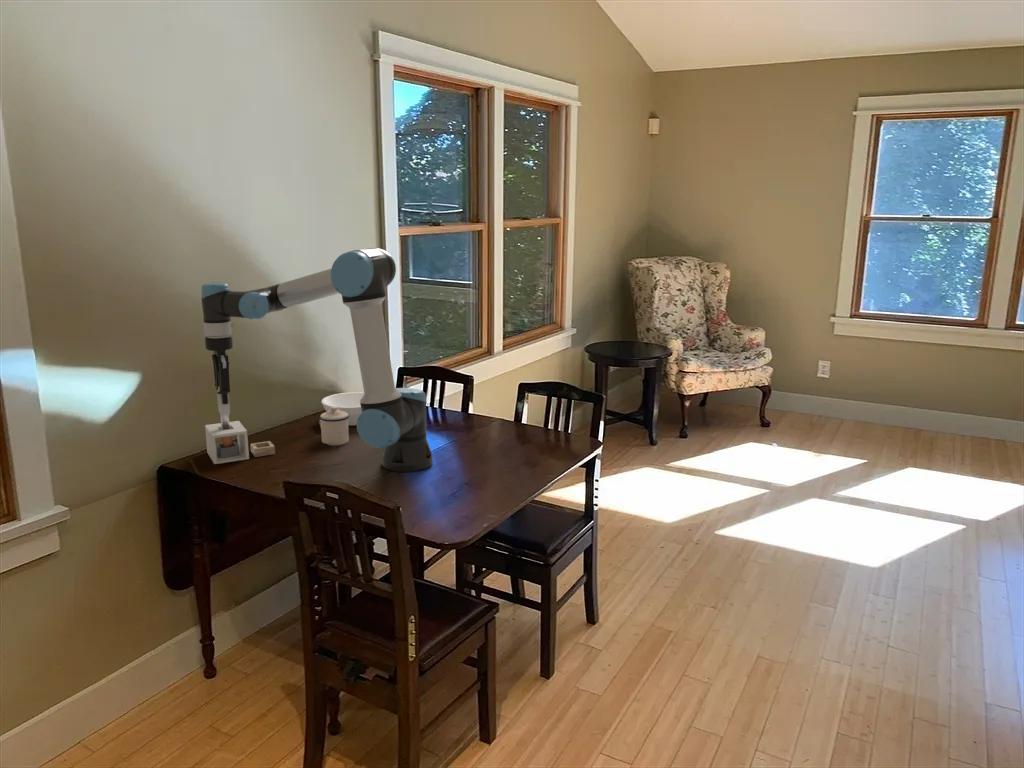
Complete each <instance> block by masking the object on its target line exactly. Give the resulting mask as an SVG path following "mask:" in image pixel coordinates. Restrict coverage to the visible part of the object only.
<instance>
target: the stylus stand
mask: <svg viewBox="0 0 1024 768" xmlns="http://www.w3.org/2000/svg"><path fill="white" fill-rule="evenodd" d="M250 452H251V454H252V455H253V456H254V457H255V458H257V457H263V456H271V455H275V454H276V447H275V445H274V444H273V442H271V440H267V441H262V442H261V441H259V442H254V443H250Z"/></svg>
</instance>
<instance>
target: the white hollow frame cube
mask: <svg viewBox="0 0 1024 768" xmlns="http://www.w3.org/2000/svg"><path fill="white" fill-rule="evenodd" d="M229 424H230V429H229V430H221V422H218V423H213V424H211V423H210V424H205V425H204V430H205V438H206V439H205V440H206V441H205V442H206V451H207V454H208V456H209V458H210V459H211V461H212V463H213V465H217V464H218V465H219V464H225V463H231V462H239V461H245V460H249V459H250V453H249V452H250V451H249V440H248V437H249V435H248V430H247V428H245V427H244V425H243V423H241V422H240V420H235V421H229ZM225 436H232V437H233V436H236V437H237V441H234V440H232V446H230V447H222V442H218V443H216V439H217V438H221V437H225Z"/></svg>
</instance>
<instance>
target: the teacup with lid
mask: <svg viewBox="0 0 1024 768" xmlns="http://www.w3.org/2000/svg"><path fill="white" fill-rule="evenodd" d="M348 417H349V416H348V414H347V413H346V412H343V411H340V410H337V407H331V410H329V411H325V412H323V413H321V414H320V416H319V426H320V431H321V442H322V443H323V444H327V445H328V446H334V447H335V446H342V445H345V444H347V443H349V441H350V433H349V425H348Z"/></svg>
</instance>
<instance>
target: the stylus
mask: <svg viewBox="0 0 1024 768" xmlns="http://www.w3.org/2000/svg"><path fill="white" fill-rule="evenodd" d="M217 391H218V392H219V391H220V390H219V386H218V390H217ZM219 405H220V402H219ZM219 416H220V423H221V429H220V431H221V430H229V429H231V428H230V424H229V422H230V414H224V415H221V414H220V413H219Z"/></svg>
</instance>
